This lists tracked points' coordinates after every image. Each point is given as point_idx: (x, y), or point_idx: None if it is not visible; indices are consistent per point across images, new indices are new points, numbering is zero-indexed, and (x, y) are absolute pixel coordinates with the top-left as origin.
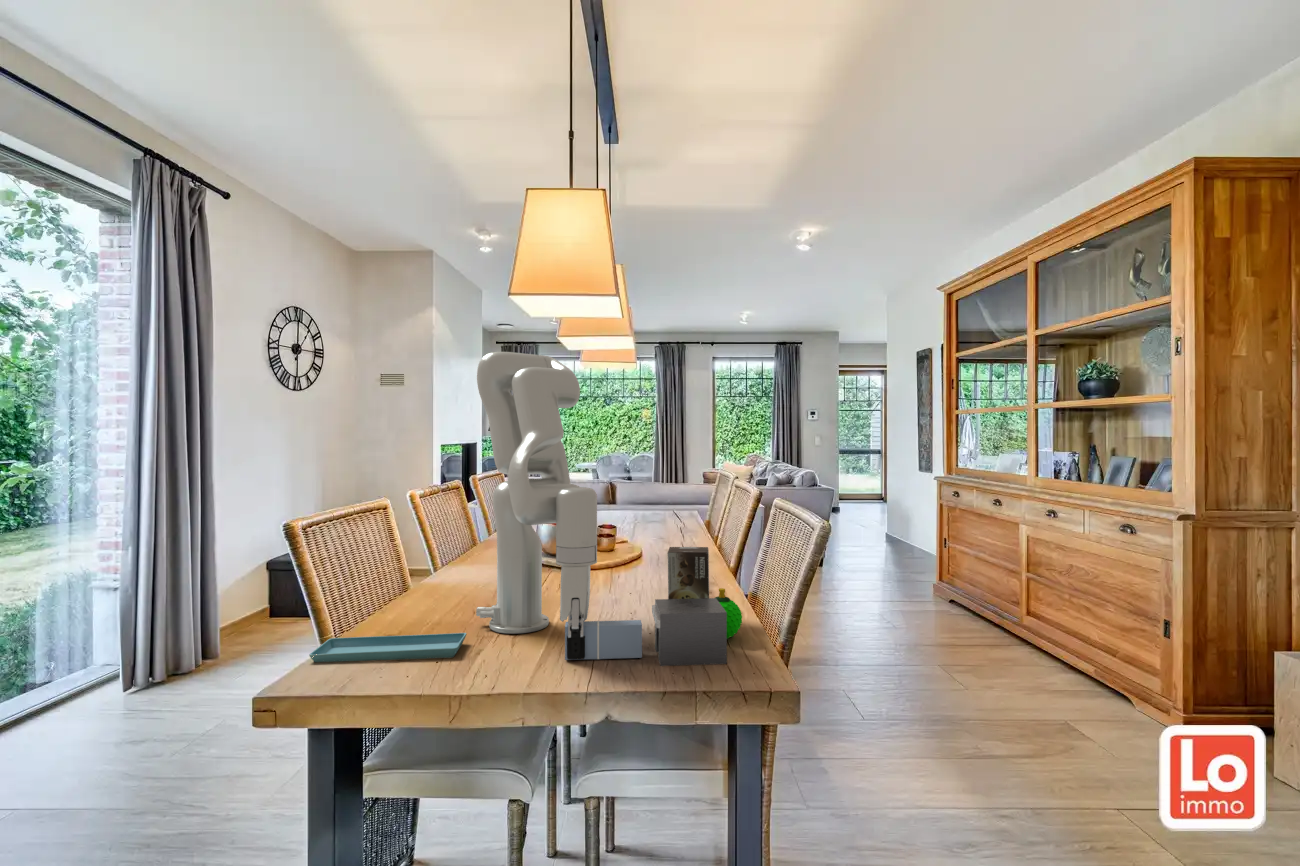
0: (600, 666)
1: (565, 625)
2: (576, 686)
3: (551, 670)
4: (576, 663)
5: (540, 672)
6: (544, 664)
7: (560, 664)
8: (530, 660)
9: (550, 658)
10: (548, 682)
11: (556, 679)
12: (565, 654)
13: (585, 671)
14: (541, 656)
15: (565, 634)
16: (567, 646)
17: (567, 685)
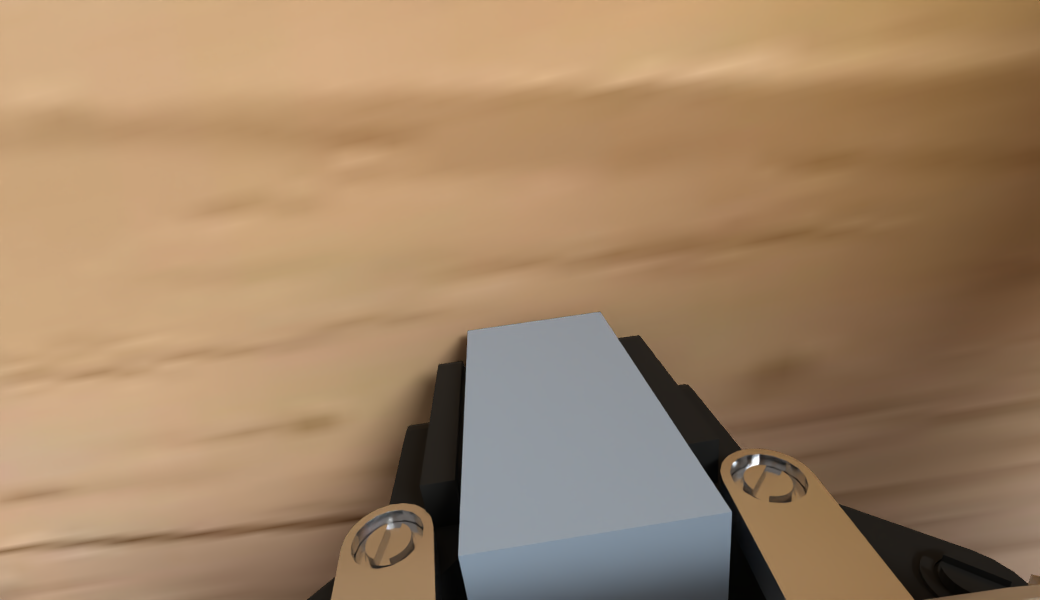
0: None
1: (526, 547)
2: (10, 487)
3: (263, 260)
4: None
5: (196, 177)
6: (390, 171)
7: (407, 303)
8: (479, 5)
9: (539, 193)
10: (2, 291)
11: (86, 337)
12: (467, 354)
13: (296, 490)
14: (588, 97)
15: (466, 471)
16: (431, 421)
17: (3, 432)
